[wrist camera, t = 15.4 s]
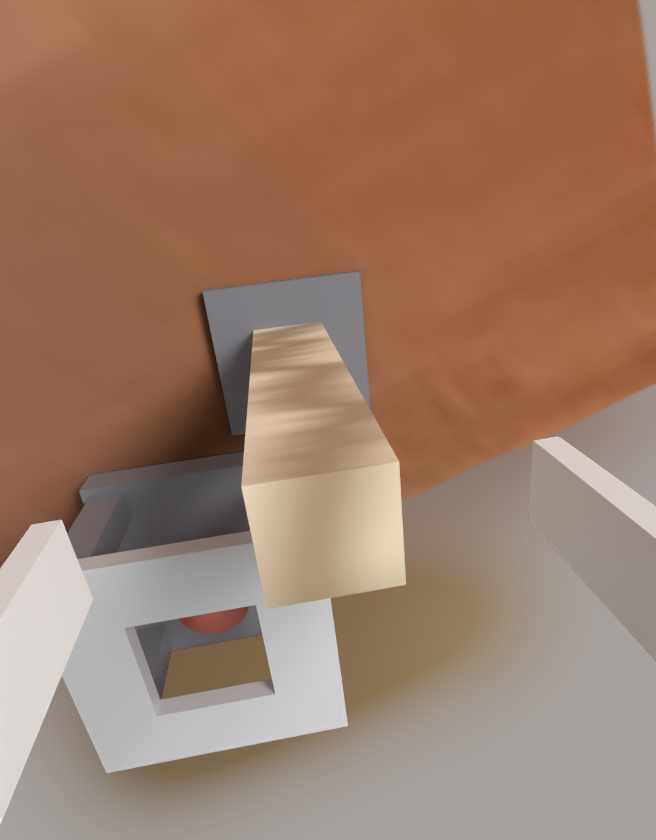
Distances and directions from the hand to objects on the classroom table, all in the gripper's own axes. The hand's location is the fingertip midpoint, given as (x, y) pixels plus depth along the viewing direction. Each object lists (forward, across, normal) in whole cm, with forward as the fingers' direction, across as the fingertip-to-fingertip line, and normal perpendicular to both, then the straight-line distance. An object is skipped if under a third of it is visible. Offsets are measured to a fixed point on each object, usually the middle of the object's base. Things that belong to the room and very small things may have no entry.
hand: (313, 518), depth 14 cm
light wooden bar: (+17, +1, 0) cm, 17 cm away
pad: (+18, +1, 0) cm, 18 cm away
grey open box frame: (+18, -6, -13) cm, 23 cm away
